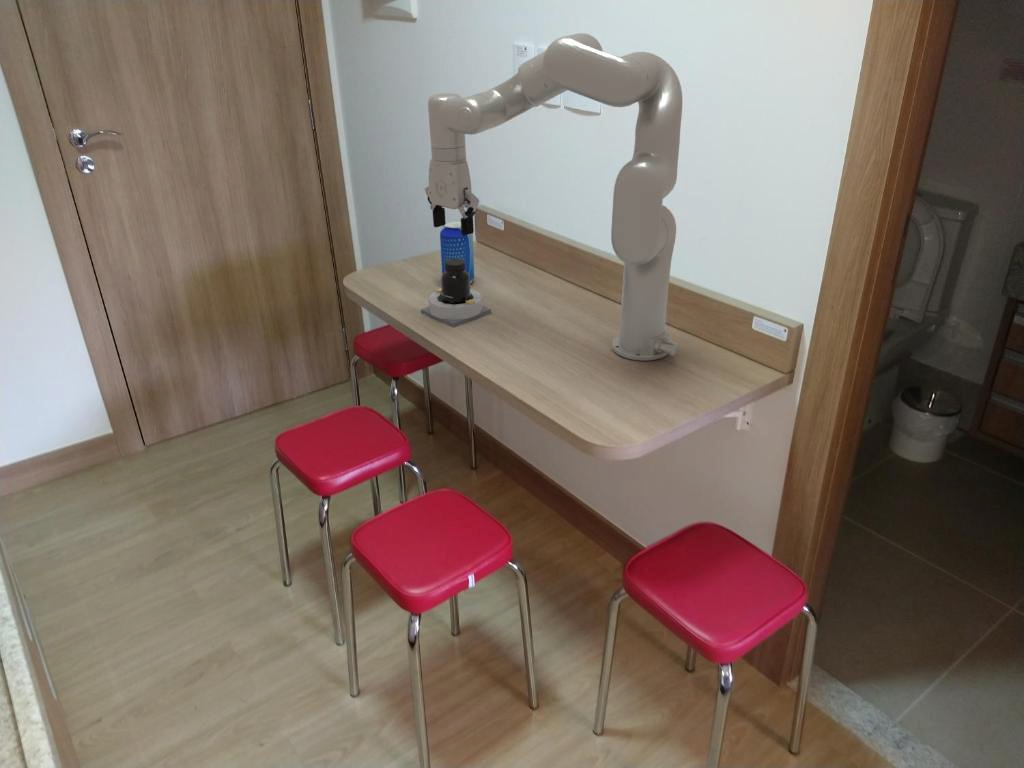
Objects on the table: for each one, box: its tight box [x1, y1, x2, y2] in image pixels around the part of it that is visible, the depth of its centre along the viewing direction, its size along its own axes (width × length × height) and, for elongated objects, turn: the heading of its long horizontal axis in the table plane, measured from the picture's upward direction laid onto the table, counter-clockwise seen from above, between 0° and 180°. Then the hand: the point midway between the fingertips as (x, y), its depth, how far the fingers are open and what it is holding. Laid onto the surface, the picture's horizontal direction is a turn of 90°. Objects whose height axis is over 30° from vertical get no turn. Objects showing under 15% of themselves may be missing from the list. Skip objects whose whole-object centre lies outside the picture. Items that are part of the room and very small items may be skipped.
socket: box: [420, 287, 492, 328], centre depth 190 cm, size 12×12×5 cm
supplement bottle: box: [440, 259, 471, 305], centre depth 188 cm, size 7×7×12 cm
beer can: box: [439, 219, 475, 285], centre depth 206 cm, size 8×8×16 cm
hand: (453, 230), depth 182 cm, fingers open, 9 cm apart
